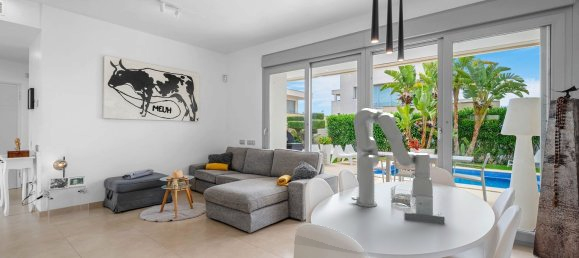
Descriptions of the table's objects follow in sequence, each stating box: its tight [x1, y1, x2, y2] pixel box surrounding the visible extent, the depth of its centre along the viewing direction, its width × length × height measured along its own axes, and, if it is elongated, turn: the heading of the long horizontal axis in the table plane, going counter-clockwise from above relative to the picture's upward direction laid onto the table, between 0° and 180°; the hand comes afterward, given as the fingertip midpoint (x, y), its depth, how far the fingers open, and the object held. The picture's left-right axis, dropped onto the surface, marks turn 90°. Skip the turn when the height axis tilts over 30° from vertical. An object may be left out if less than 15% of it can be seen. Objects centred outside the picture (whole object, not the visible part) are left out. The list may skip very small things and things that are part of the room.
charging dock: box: [403, 209, 446, 225], centre depth 149 cm, size 18×13×4 cm
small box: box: [414, 196, 434, 215], centre depth 151 cm, size 8×6×10 cm
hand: (422, 208), depth 156 cm, fingers closed
